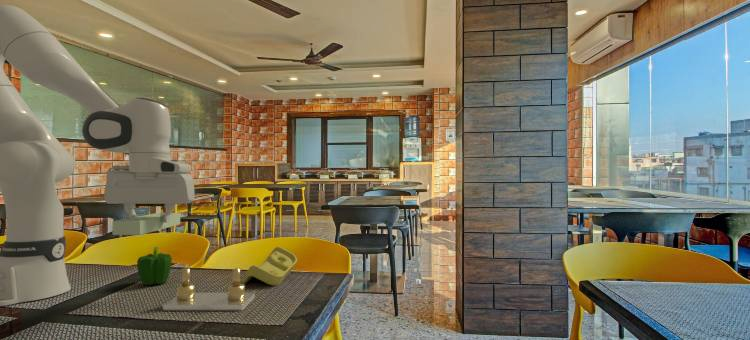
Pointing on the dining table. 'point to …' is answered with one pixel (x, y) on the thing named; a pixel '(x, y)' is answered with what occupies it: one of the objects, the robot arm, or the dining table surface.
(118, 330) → the dining table surface
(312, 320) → the dining table surface
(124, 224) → the board
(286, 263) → the plastic component
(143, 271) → the bell pepper
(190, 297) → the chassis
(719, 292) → the dining table surface
